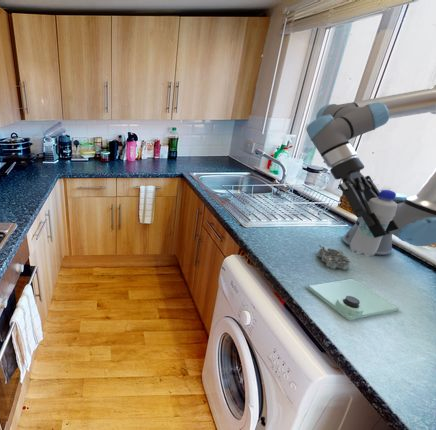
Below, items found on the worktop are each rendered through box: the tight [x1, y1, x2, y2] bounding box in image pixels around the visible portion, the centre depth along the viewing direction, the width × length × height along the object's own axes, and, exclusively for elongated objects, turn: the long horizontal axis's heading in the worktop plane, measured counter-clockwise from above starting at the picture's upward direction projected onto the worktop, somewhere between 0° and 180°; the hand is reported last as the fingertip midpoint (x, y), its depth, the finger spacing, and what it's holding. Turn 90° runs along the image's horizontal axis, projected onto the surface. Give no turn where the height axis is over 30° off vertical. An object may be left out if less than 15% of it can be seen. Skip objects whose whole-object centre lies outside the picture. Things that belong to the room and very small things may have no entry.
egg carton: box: [317, 244, 353, 271], centre depth 106 cm, size 11×8×4 cm
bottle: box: [349, 189, 397, 258], centre depth 82 cm, size 7×7×20 cm
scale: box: [307, 278, 400, 321], centre depth 87 cm, size 18×14×3 cm
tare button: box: [344, 296, 360, 308], centre depth 81 cm, size 3×3×2 cm
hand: (386, 233), depth 80 cm, fingers closed on bottle, 7 cm apart
